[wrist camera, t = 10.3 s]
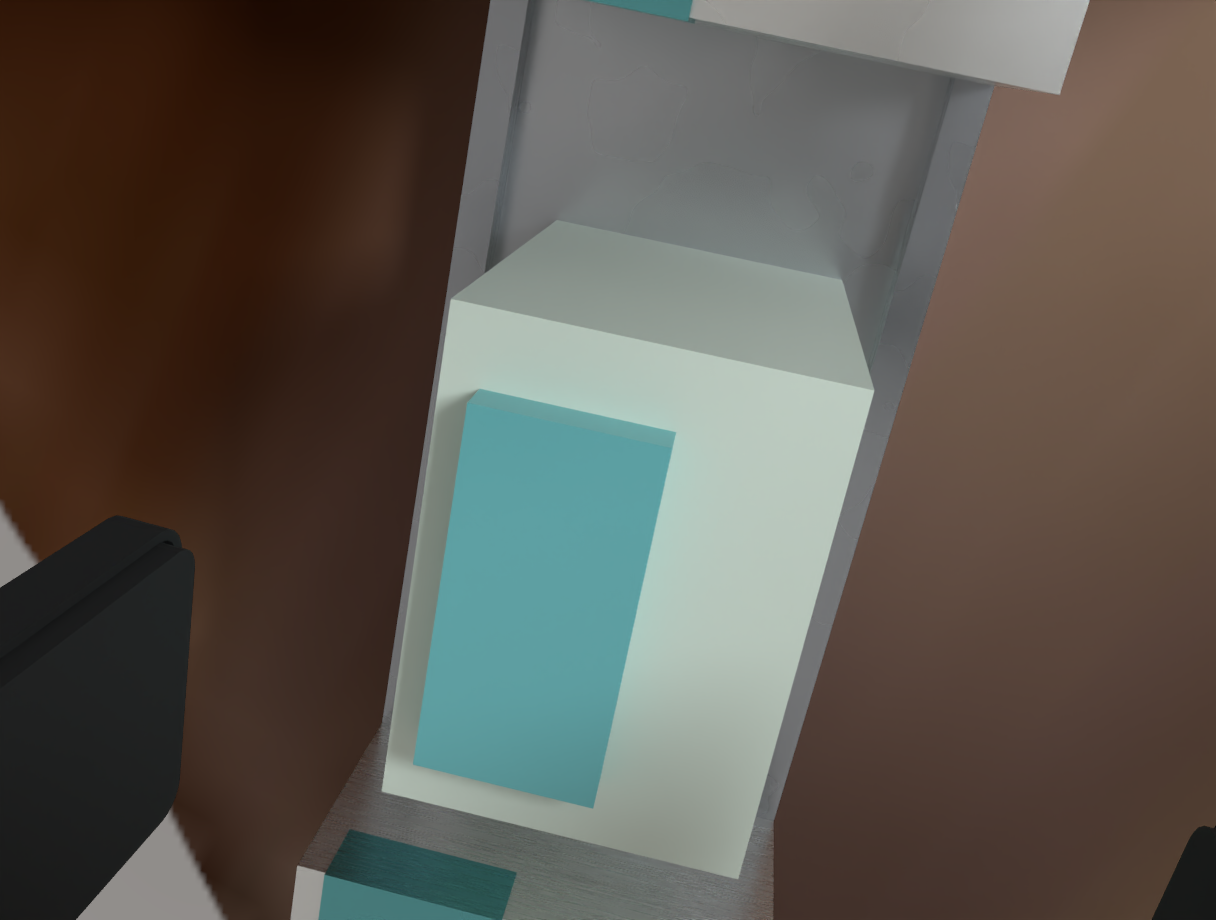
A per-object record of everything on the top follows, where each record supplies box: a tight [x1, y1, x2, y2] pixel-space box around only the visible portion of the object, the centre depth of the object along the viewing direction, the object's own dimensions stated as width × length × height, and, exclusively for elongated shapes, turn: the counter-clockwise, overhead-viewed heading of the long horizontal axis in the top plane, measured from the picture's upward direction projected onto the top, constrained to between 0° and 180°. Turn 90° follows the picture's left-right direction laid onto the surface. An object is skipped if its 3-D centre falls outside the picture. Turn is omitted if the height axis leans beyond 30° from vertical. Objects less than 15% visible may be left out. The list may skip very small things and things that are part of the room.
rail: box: [290, 0, 1090, 920], centre depth 19 cm, size 8×24×6 cm, turn 169°
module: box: [382, 220, 874, 879], centre depth 18 cm, size 5×7×8 cm
